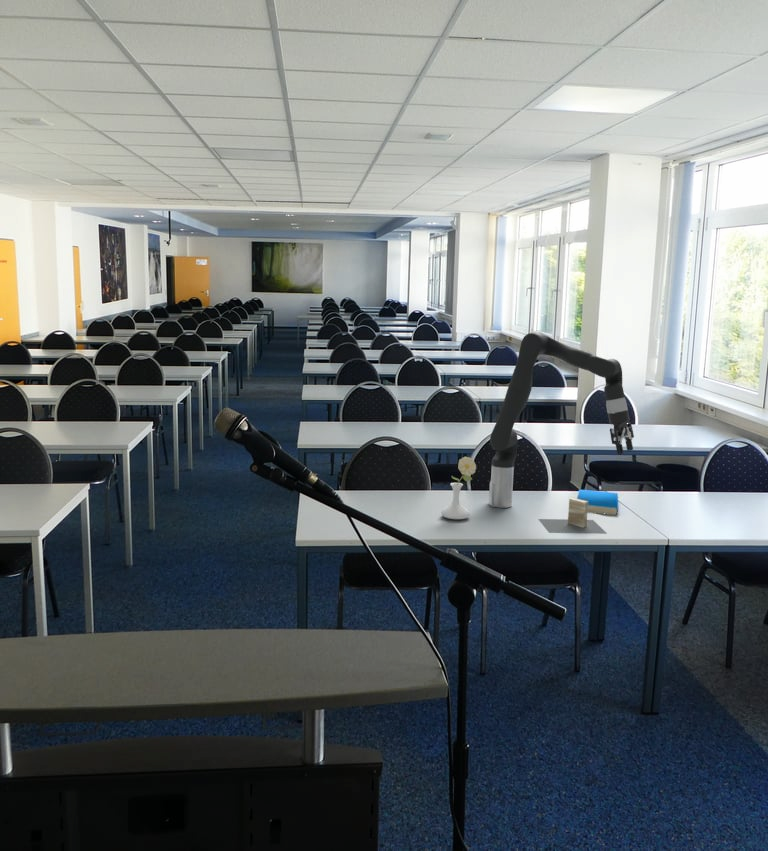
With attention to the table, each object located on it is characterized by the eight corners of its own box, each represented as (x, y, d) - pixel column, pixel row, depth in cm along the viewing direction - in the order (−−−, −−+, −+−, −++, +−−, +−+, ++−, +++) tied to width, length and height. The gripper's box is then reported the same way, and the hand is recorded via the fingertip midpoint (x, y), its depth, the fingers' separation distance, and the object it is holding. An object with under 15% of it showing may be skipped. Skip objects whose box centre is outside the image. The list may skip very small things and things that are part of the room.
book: (575, 503, 327) (578, 488, 351) (575, 513, 328) (578, 498, 351) (618, 507, 322) (618, 492, 346) (618, 517, 323) (617, 501, 347)
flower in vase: (443, 521, 307) (445, 459, 303) (439, 513, 318) (441, 453, 314) (476, 522, 308) (479, 459, 304) (471, 514, 319) (473, 453, 315)
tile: (582, 527, 302) (584, 502, 300) (567, 523, 307) (569, 498, 305) (586, 526, 303) (588, 501, 302) (571, 522, 309) (573, 497, 307)
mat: (549, 534, 295) (549, 532, 294) (538, 520, 312) (538, 519, 312) (607, 535, 295) (607, 533, 295) (592, 521, 313) (593, 519, 313)
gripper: (616, 409, 308) (624, 450, 309) (600, 414, 298) (608, 456, 298) (634, 406, 303) (642, 448, 303) (618, 411, 293) (626, 454, 293)
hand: (625, 452), depth 301 cm, fingers open, 8 cm apart
